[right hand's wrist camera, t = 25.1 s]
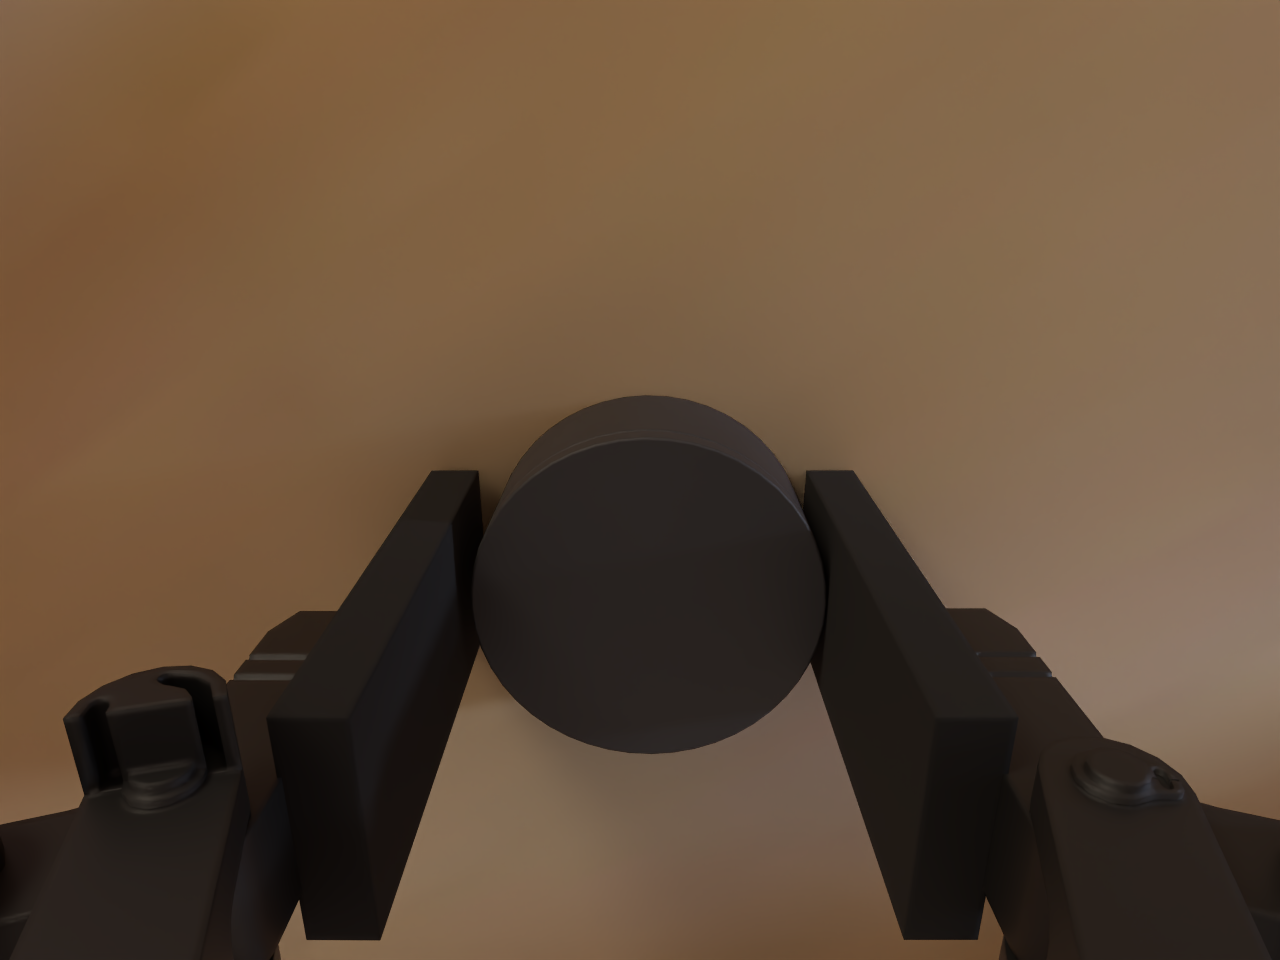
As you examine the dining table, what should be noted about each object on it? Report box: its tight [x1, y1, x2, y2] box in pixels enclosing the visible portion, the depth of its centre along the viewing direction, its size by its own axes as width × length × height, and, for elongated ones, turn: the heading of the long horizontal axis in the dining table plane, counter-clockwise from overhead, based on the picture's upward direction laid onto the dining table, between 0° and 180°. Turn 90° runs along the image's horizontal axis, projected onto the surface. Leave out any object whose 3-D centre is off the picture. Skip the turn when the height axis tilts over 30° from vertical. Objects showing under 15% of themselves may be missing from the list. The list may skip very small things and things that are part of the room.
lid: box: [471, 396, 827, 754], centre depth 13 cm, size 5×5×2 cm
